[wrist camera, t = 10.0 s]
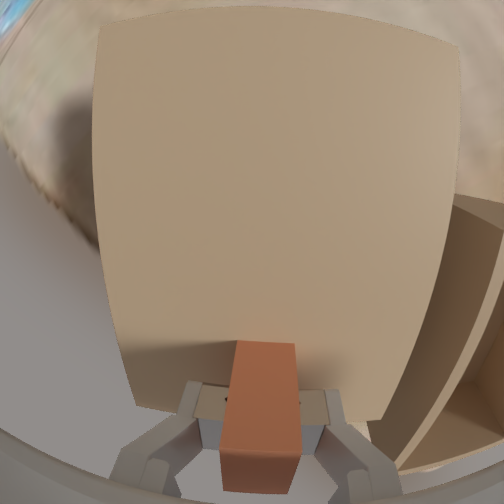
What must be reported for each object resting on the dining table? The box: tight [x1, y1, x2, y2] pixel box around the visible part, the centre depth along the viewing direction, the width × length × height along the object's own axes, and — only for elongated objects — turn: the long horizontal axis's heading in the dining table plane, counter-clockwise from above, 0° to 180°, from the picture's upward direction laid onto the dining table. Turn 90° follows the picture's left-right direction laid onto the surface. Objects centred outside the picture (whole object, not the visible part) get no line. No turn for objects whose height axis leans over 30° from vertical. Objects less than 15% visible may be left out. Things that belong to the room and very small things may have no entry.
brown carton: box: [366, 194, 504, 476], centre depth 14 cm, size 16×12×8 cm
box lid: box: [92, 6, 461, 494], centre depth 7 cm, size 16×12×5 cm
